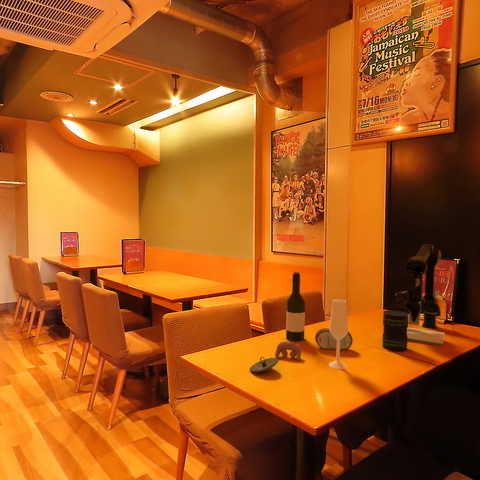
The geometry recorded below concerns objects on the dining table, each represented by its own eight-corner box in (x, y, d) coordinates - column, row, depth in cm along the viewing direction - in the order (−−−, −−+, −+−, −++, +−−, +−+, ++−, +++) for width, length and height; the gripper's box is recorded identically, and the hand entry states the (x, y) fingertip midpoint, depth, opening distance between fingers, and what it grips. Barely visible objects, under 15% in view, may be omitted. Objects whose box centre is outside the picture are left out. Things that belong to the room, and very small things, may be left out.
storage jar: (410, 348, 160) (412, 313, 160) (402, 353, 153) (403, 317, 152) (387, 342, 167) (388, 309, 166) (378, 347, 160) (379, 312, 159)
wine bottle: (283, 340, 169) (284, 272, 167) (288, 335, 176) (289, 270, 175) (302, 342, 166) (303, 274, 164) (306, 337, 173) (307, 271, 172)
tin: (351, 348, 158) (352, 328, 158) (353, 351, 155) (353, 331, 155) (314, 347, 160) (315, 327, 159) (315, 349, 157) (316, 329, 156)
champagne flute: (344, 370, 135) (345, 303, 134) (325, 366, 138) (327, 301, 137) (349, 364, 141) (351, 300, 139) (331, 360, 144) (333, 298, 143)
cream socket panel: (387, 331, 184) (388, 324, 184) (444, 340, 171) (444, 332, 171) (384, 336, 176) (384, 329, 176) (442, 346, 164) (443, 338, 163)
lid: (277, 378, 128) (277, 363, 128) (247, 375, 129) (248, 361, 129) (278, 366, 138) (279, 352, 138) (251, 364, 140) (252, 350, 140)
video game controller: (301, 362, 146) (303, 344, 149) (299, 360, 142) (301, 342, 145) (276, 359, 149) (278, 341, 152) (273, 357, 145) (276, 339, 148)
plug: (410, 322, 176) (410, 307, 176) (419, 323, 174) (420, 308, 174) (408, 324, 173) (409, 308, 172) (418, 325, 171) (419, 310, 170)
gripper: (400, 282, 185) (398, 313, 186) (393, 287, 169) (391, 322, 170) (425, 284, 179) (424, 317, 180) (420, 290, 163) (419, 326, 164)
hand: (414, 320), depth 173 cm, fingers closed on plug, 4 cm apart
